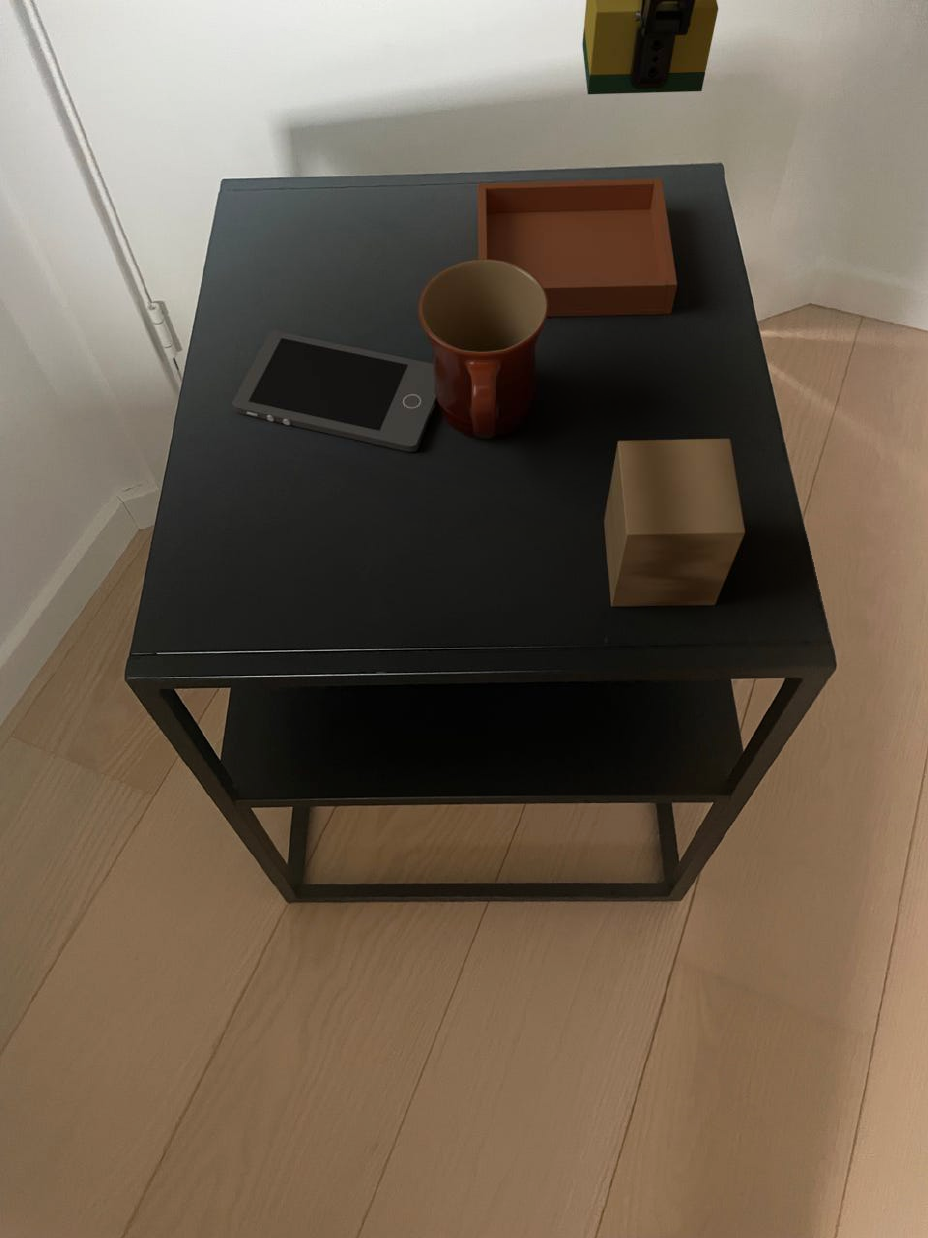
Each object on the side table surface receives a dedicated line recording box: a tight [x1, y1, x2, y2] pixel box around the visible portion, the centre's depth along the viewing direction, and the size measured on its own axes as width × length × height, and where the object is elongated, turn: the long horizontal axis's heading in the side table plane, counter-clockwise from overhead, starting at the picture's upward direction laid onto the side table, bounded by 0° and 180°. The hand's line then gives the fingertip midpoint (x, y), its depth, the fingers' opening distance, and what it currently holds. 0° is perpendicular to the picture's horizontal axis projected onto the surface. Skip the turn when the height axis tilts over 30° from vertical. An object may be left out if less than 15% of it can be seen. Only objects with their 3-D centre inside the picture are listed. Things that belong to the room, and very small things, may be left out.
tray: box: [477, 177, 678, 318], centre depth 79 cm, size 15×12×3 cm
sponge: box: [581, 0, 719, 95], centre depth 58 cm, size 7×5×5 cm
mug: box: [417, 258, 549, 440], centre depth 68 cm, size 12×9×10 cm
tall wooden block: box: [603, 438, 746, 608], centre depth 62 cm, size 7×7×9 cm
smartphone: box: [231, 330, 438, 453], centre depth 74 cm, size 15×8×1 cm, turn 73°
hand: (643, 54), depth 59 cm, fingers closed on sponge, 5 cm apart
